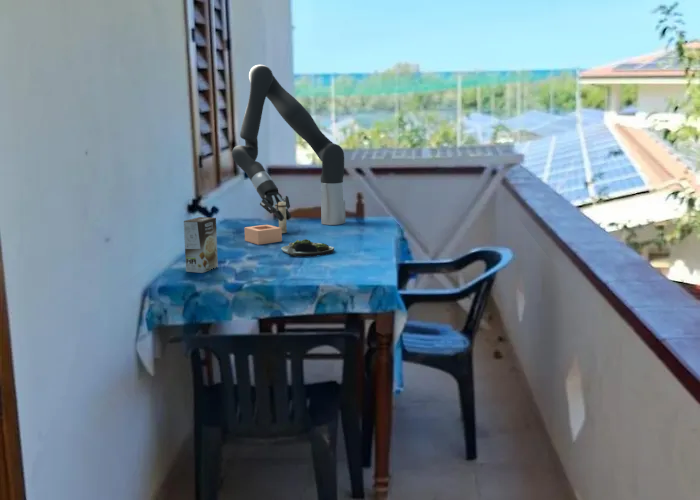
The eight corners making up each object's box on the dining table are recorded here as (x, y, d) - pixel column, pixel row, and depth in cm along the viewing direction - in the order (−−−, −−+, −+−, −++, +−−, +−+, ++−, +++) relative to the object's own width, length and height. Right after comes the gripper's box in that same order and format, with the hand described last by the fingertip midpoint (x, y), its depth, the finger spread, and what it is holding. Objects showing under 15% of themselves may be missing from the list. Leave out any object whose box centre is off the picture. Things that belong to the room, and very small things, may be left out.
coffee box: (203, 273, 243) (200, 221, 240) (185, 271, 245) (182, 220, 242) (218, 267, 251) (216, 217, 248) (201, 265, 253) (198, 216, 250)
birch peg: (284, 231, 311) (283, 201, 309) (288, 232, 308) (287, 202, 306) (277, 232, 309) (276, 202, 307) (281, 233, 307) (280, 203, 304)
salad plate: (269, 250, 279) (269, 237, 278) (314, 244, 287) (314, 232, 286) (292, 259, 262) (292, 246, 261) (340, 253, 271) (340, 240, 270)
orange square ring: (268, 237, 300) (267, 224, 299) (281, 241, 292) (281, 228, 292) (244, 240, 295) (244, 227, 294) (258, 244, 287) (257, 231, 286)
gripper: (254, 180, 305) (276, 215, 299) (282, 177, 315) (303, 210, 309) (246, 193, 309) (268, 227, 304) (273, 189, 319) (295, 222, 314)
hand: (285, 219), depth 306 cm, fingers closed on birch peg, 3 cm apart
